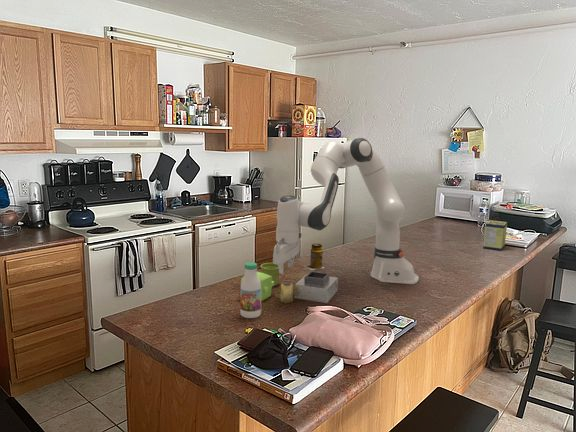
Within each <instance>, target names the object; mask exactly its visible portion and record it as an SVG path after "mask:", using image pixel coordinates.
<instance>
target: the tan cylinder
mask: <svg viewBox="0 0 576 432" xmlns="http://www.w3.org/2000/svg"><path fill="white" fill-rule="evenodd" d="M293 297H294V284H293V283H292V282H289V281H285V282H281V283H280V302H281V303H283V302H284V304H291V303H292V302H293V301H294V300H293V299H294V298H293ZM290 302H291V303H290Z"/></svg>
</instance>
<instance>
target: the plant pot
mask: <svg viewBox="0 0 576 432" xmlns="http://www.w3.org/2000/svg"><path fill="white" fill-rule="evenodd" d="M260 268H261V270H262V273H265V274H267V275H270V276H272V281H274V286H273V287H275V286H277V285H278V281H279V276H280V273H279V268H278V265H276V264H274V263H273V262H265V263H261V264H260Z"/></svg>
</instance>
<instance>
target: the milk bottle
mask: <svg viewBox="0 0 576 432" xmlns="http://www.w3.org/2000/svg"><path fill="white" fill-rule="evenodd" d="M244 270H245V271H244V272H245V273H244V275H243V276H242V277H243V279H242V282H241V281H240V298H239V299H240V300H239V301H240V315H241V317H242V318H244V319H245V318H246V319H255V318H259V317H260V316H261V314H262V301H261V283H260V280H259V278H258V275H257V272H258V271H257V270H258V263H256V262H251V261H249V262H246V263H244Z"/></svg>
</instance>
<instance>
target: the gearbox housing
mask: <svg viewBox="0 0 576 432" xmlns="http://www.w3.org/2000/svg"><path fill="white" fill-rule="evenodd" d="M338 284H339V277H336V276H330V273H326V272H319V271H314V270H310V271H309V272H308V273H306V274H305V275H304V276H303V277H302V278H301V279H299V280H298V281H297V282H295V284H294V299H299V300H305V301H309V302H310V301H311V302H317V303H324V304H328V303H329V301H330V300H331V299H332V298H333V297H334V296H335V294H336V293H337V292H338V286H339V285H338Z"/></svg>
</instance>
